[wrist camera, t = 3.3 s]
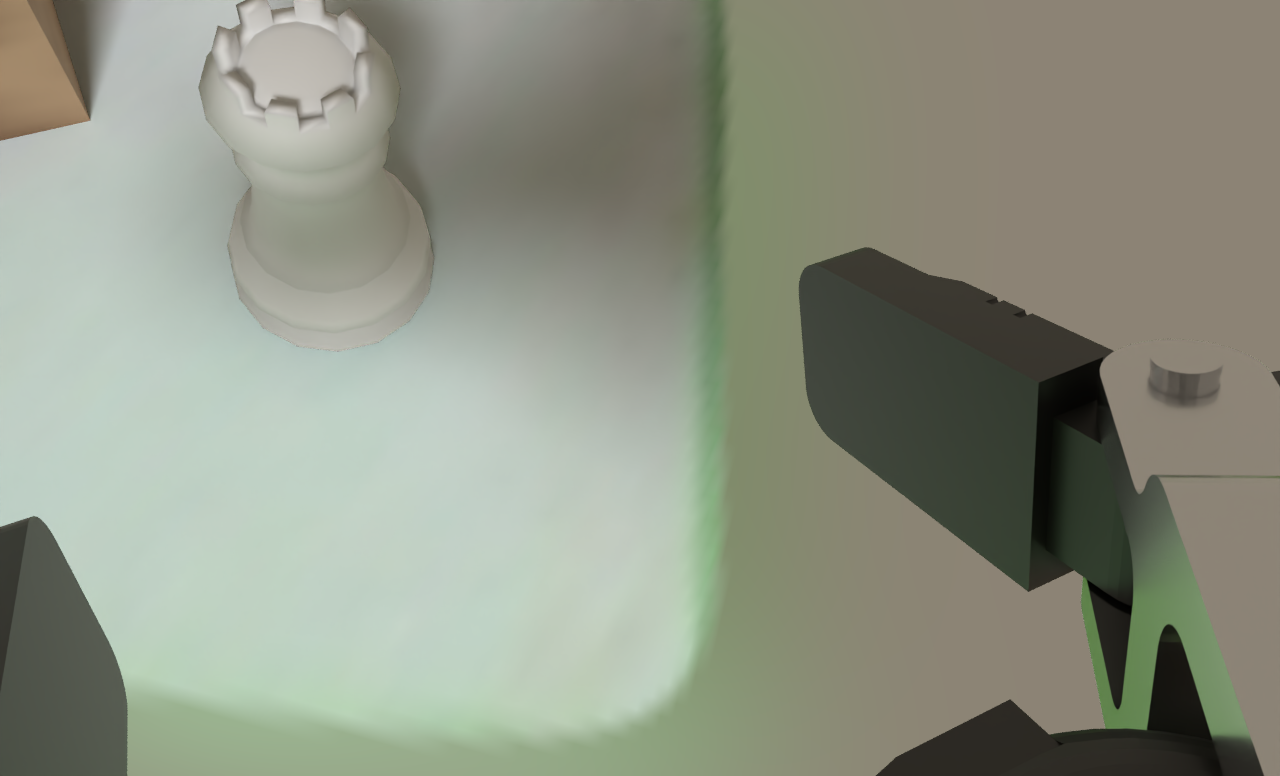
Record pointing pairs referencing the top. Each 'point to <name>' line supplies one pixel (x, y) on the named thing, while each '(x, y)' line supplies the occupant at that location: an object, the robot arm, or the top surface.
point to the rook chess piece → (316, 176)
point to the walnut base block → (35, 71)
